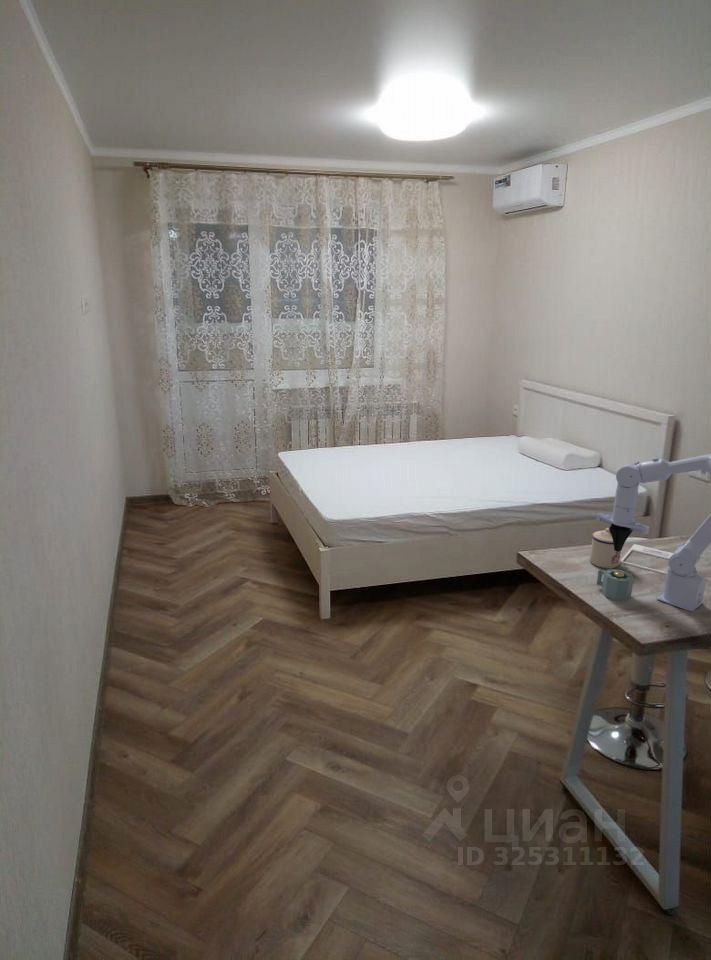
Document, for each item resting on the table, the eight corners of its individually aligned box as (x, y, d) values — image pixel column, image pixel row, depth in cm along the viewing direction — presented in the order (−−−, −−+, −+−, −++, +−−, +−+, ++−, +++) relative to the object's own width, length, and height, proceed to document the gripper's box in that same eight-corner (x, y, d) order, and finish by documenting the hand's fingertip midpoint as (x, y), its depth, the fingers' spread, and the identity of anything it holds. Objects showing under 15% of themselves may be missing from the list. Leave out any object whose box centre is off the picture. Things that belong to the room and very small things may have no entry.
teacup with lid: (616, 571, 196) (622, 536, 192) (586, 564, 200) (590, 530, 197) (622, 558, 206) (628, 524, 202) (593, 552, 210) (598, 518, 207)
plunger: (625, 590, 180) (628, 573, 179) (619, 594, 178) (622, 577, 177) (613, 586, 183) (615, 569, 181) (607, 590, 181) (610, 572, 179)
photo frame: (681, 554, 208) (669, 573, 194) (681, 557, 208) (669, 576, 194) (634, 543, 216) (619, 560, 202) (633, 546, 216) (619, 563, 202)
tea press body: (634, 595, 181) (637, 575, 179) (622, 602, 176) (625, 583, 174) (602, 583, 187) (605, 565, 185) (590, 591, 182) (593, 571, 181)
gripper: (656, 509, 179) (649, 554, 182) (606, 496, 189) (600, 539, 193) (645, 515, 174) (638, 560, 178) (595, 501, 184) (589, 545, 188)
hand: (617, 550), depth 185 cm, fingers closed
